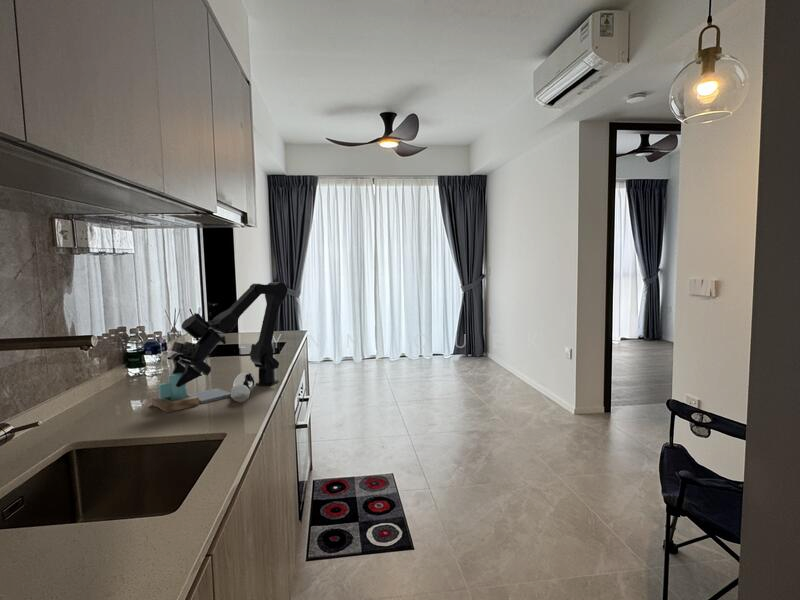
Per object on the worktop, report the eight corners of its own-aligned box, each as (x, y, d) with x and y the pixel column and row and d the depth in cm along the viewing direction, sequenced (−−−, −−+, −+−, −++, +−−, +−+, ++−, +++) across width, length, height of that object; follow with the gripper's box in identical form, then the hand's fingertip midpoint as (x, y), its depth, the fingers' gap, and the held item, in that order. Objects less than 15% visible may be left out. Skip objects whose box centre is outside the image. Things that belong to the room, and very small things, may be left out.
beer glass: (247, 380, 155) (251, 368, 169) (226, 387, 153) (232, 375, 168) (253, 399, 156) (257, 386, 170) (233, 406, 155) (238, 392, 169)
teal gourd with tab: (183, 401, 157) (181, 371, 156) (190, 404, 153) (188, 374, 153) (157, 406, 151) (155, 376, 150) (163, 410, 147) (162, 379, 146)
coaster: (216, 390, 169) (216, 388, 169) (232, 396, 162) (232, 393, 162) (186, 397, 161) (186, 394, 161) (201, 403, 153) (201, 400, 153)
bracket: (182, 398, 160) (182, 391, 160) (198, 404, 152) (198, 397, 152) (152, 405, 153) (151, 397, 152) (167, 412, 145) (167, 404, 145)
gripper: (174, 329, 160) (142, 366, 153) (200, 335, 148) (166, 375, 141) (198, 348, 167) (168, 385, 160) (224, 355, 155) (193, 395, 147)
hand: (173, 384), depth 152 cm, fingers open, 5 cm apart
